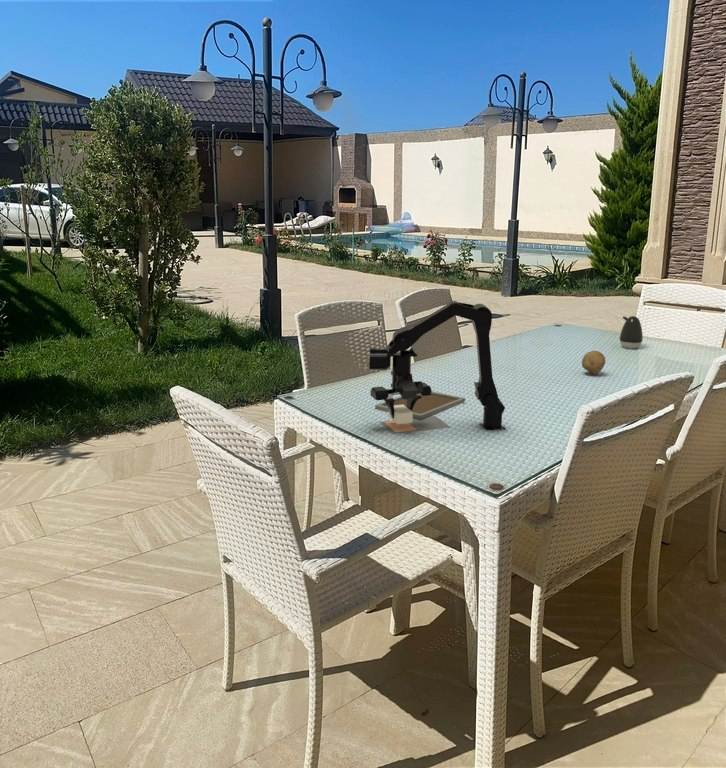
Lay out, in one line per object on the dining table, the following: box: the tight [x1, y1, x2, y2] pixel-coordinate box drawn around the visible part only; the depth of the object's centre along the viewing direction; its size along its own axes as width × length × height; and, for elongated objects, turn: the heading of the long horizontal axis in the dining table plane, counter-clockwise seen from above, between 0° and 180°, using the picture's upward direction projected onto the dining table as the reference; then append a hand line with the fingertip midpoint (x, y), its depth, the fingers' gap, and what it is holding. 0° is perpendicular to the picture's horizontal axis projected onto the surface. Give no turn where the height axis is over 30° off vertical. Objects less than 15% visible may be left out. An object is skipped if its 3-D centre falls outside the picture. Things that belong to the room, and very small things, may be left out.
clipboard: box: [374, 390, 466, 420], centre depth 252 cm, size 19×2×30 cm
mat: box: [379, 415, 452, 435], centre depth 233 cm, size 12×20×1 cm, turn 109°
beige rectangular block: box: [388, 405, 413, 424], centre depth 231 cm, size 5×8×4 cm, turn 19°
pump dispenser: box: [619, 315, 644, 350], centre depth 342 cm, size 10×10×15 cm
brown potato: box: [581, 350, 606, 375], centre depth 295 cm, size 9×9×10 cm
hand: (400, 417), depth 231 cm, fingers closed on beige rectangular block, 5 cm apart
